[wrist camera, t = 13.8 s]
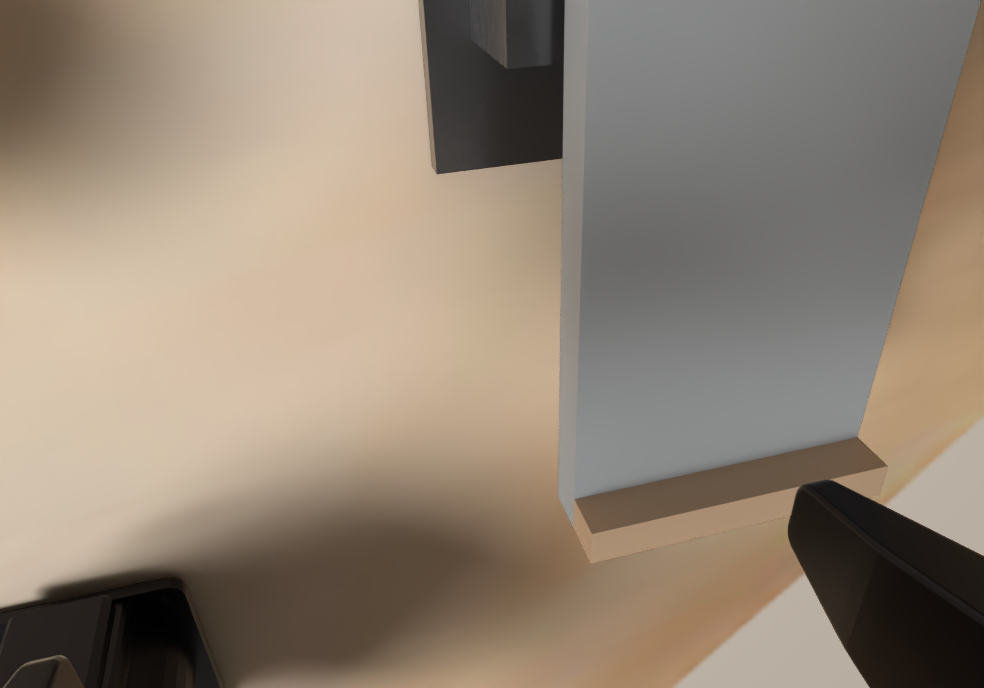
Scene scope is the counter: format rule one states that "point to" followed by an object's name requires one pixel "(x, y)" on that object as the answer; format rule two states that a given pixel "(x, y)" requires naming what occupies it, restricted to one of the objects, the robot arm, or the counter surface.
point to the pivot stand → (493, 81)
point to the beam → (735, 248)
